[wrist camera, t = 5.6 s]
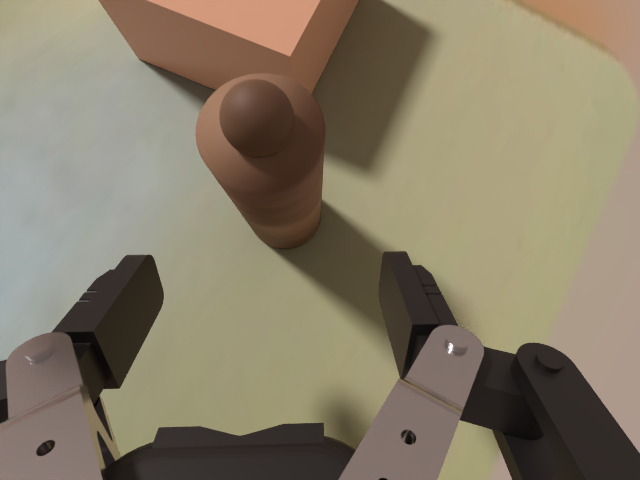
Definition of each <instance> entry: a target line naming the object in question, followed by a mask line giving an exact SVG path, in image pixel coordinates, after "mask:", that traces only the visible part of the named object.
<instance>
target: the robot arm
mask: <svg viewBox="0 0 640 480" xmlns="http://www.w3.org/2000/svg"><path fill="white" fill-rule="evenodd" d="M163 299H164V293H163V288H162V284H161V281H160V277H159V274H158V270H157V267H156V264H155V260H154V258H153V256H151V255H126V256H125V257H124V258H123V259H122V261H121V262H120V263H119V264H118V266H117V267H116V268H115V269H114V270H109V271H108V272H106V273H105V274H103V275H102V276H100V277H99V278H97V279H96V280H95V281H94V282H93V283H92V285H91V286H90V287H89V288H88V289H87V292H85V293H84V294H83V295H82V297H81V298H80V299H79V302H77V303H76V304H75V305H74V306H73V307H72V308H71V310H70V311H69V312H68V313H67V314H66V316H65V317H64V318H63V319H62V320H61V322H60V323H59V324H58V325H57V326H56V328H55V329H54V330H53V331H52V332H51V333H46V334H42V335H40V336H37V337H34V338H32V339H30V340H28V341H26V342H25V343H23V344H22V345H20V346H19V347H18V348H17V349H15V350H14V351H13V352H12V354H11V355H10V356H9V358H8V359H7V360H4V361H0V480H437V478H438V476H439V473H440V470H441V468H442V465H443V462H444V460H445V457H446V454H447V452H448V449H449V446H450V444H451V441H452V438H453V436H454V433H455V430H456V428H457V425H458V422H459V420H461V421H465V422H468V423H472V424H475V425H479V426H482V427H486V428H489V429H492V430H493V433H494V435H495V438H496V440H497V443H498V445H499V448H500V450H501V453H502V455H503V458H504V460H505V463H506V464H507V468H508V470H509V472H510V475H511V477H512V480H640V453H639V452H638V451H637V449H636V448H635V446H634V445H633V444H632V442H631V441H630V440H629V438H628V437H627V436H626V434H625V433H624V431H623V430H622V429H621V427H620V426H619V424H618V423H617V422H616V420H615V419H614V418H613V417H612V415H611V414H610V412H609V411H608V409H607V408H606V407H605V406H604V404H603V403H602V401H601V400H600V398H599V397H598V396H597V394H596V393H595V392H594V390H593V389H592V387H591V386H590V385H589V383H588V382H587V381H586V379H585V378H584V377H583V375H582V374H581V372H580V371H579V370H578V368H577V367H576V366H575V364H574V363H573V362H572V361H571V360H570V359H569V358H568V357H567V356H566V355H564V354H563V353H562V352H560V351H558V350H556V349H554V348H552V347H550V346H547V345H544V344H540V343H527V344H524V345H522V346H520V347H519V349H518V351H517V353H516V354H512V353H508V352H503V351H499V350H495V349H491V348H487V347H484V346H483V345H482V343H481V341H480V340H479V339H478V338H477V337H476V336H475V335H474V334H473V333H471V332H470V331H468V330H466V329H464V328H462V327H459V326H458V325H457V323H456V321H455V319H454V317H453V315H452V313H451V311H450V309H449V307H448V305H447V303H446V301H445V299H444V297H443V295H441V291H440V290H439V288H438V287H437V284H436V282H435V280H434V278H433V276H432V274H431V273H430V272H428V271H427V270H426V269H425V268H424V267H423V266H421V265H412V263H411V261H410V259H409V256H408V254H407V252H405V251H400V252H384V254H383V258H382V266H381V274H380V282H379V301H380V305H381V309H382V313H383V316H384V320H385V324H386V327H387V331H388V335H389V339H390V342H391V346H392V350H393V353H394V357H395V361H396V364H397V368H398V372H399V375H400V379H399V380H398V381H397V382H396V384H395V386H394V387H393V389H392V391H391V392H390V394H389V396H388V397H387V399H386V401H385V402H384V404H383V406H382V407H381V409H380V411H379V412H378V414H377V416H376V417H375V419H374V421H373V423H372V424H371V426H370V428H369V429H368V431H367V433H366V434H365V436H364V438H363V439H362V441H361V443H360V444H359V446H358V448H357V449H356V450H355V449H353V448H352V447H351V446H349V445H347V444H345V443H343V442H341V441H339V440H336V439H334V438H331V437H327V436H324V423H303V424H282V425H278V426H275V427H271V428H268V429H264V430H261V431H257V432H254V433H250V434H247V435H243V436H237V435H232V434H228V433H224V432H220V431H216V430H212V429H208V428H204V427H200V426H196V427H161V428H159V429H158V431H157V434H156V437H155V439H154V442H152V443H149V444H146V445H144V446H141V447H139V448H137V449H135V450H133V451H131V452H129V453H127V454H125V455H124V456H122V457H121V456H120V453H119V450H118V448H117V444H116V441H115V438H114V435H113V431H112V428H111V425H110V422H109V418H108V415H107V412H106V409H105V406H104V402H103V400H102V398H101V396H100V394H101V392H102V390H103V389H119V388H120V387H121V385H122V383H123V381H124V379H125V377H126V375H127V373H128V371H129V369H130V367H131V366H132V364H133V362H134V360H135V358H136V356H137V354H138V352H139V350H140V348H141V346H142V344H143V342H144V340H145V339H146V337H147V335H148V333H149V331H150V329H151V327H152V325H153V323H154V321H155V319H156V317H157V315H158V313H159V311H160V310H161V307H162V305H163Z"/></svg>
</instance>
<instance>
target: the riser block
mask: <svg viewBox="0 0 640 480" xmlns="http://www.w3.org/2000/svg"><path fill="white" fill-rule="evenodd" d="M99 2H100V3H101V5H102V6H103V8H104V9H105V10H106V12H107V13H108V15H109V16H110V18H111V19H112V21H113V22H114V24H115V25H116V27H117V28H118V29H119V31H120V32H121V34H122V35H123V37H124V38H125V40H126V41H127V43H128V44H129V46H130V47H131V48H132V50H133V51H134V53H135V54H136V56H137V57H138V59H141V60H143V61H145V62H148V63H150V64H153V65H155V66H158V67H160V68H163V69H165V70H168V71H170V72H172V73H175V74H177V75H180V76H182V77H185V78H187V79H190V80H192V81H194V82H197V83H199V84H202V85H204V86H207V87H209V88H212V89H214V90H217V89H218V88H220V87H221V86H222V85H224V84H225V83H227V82H229V81H231V80H233V79H235V78H238V77H241V76H245V75H249V74H256V73H268V74H275V75H280V76H283V77H286V78H289V79H291V80H293V81H295V82H297V83H298V84H300V85H302V86H303V87H304V88H305V89H306V90H308V91H309V92H310V94H312V92H313V90H314V88H315V86H316V84H317V82H318V80H319V78H320V76H321V74H322V72H323V70H324V68H325V66H326V64H327V62H328V60H329V59H330V57H331V55H332V53H333V51H334V49H335V47H336V45H337V43H338V41H339V39H340V37H341V35H342V33H343V31H344V29H345V27H346V25H347V23H348V21H349V19H350V17H351V15H352V13H353V11H354V9H355V7H356V5H357V3H358V2H359V0H99Z"/></svg>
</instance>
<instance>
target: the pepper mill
mask: <svg viewBox="0 0 640 480" xmlns="http://www.w3.org/2000/svg"><path fill="white" fill-rule="evenodd" d="M324 140H325V123H324V118H323V114H322V111H321V109H320V107H319V105H318V103H317V101H316V100H315V98H314V97H313V96H312V95H311V94H310V92H309V91H308V90H306V89H305V88H304V87H303V86H302V85H300V84H298V83H297V82H295V81H293V80H291V79H289V78H286V77H283V76H280V75H275V74H268V73H256V74H249V75H245V76H241V77H238V78H235V79H233V80H231V81H229V82H227V83H225V84H224V85H222V86H221V87H220V88H218V89H217V90H216V91H215V92H214V93H213V94H212V95H211V96H210V97H209V98H208V99H207V101H206V102H205V104H204V105H203V107H202V109H201V111H200V114H199V117H198V120H197V125H196V142H197V146H198V150H199V153H200V155H201V157H202V159H203V161H204V162H205V164H206V165H207V167H208V168H209V170H210V171H211V172H212V174H213V175H214V177H215V178H216V179H217V181H218V182H219V184H220V185H221V186H222V188H223V189H224V190H225V192H226V193H227V195H228V196H229V197H230V199H231V200H232V202H233V203H234V204H235V206H236V207H237V209H238V210H239V211H240V213H241V214H242V216H243V217H244V218H245V220H246V221H247V222H248V224H249V225H250V227H251V228H252V229H253V231H254V232H255V234H256V235H257V236H258V237H259V238H260V239H261V240H262V241H263V242H264V243H266V244H268V245H269V246H272V247H275V248H279V249H290V248H295V247H298V246H300V245H302V244H304V243H306V242H307V241H308V240H309V239H310V238H311V237H312V236H313V235H314V234H315V232H316V231H317V229H318V226H319V224H320V219H321V201H322V181H323V161H324Z"/></svg>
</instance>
